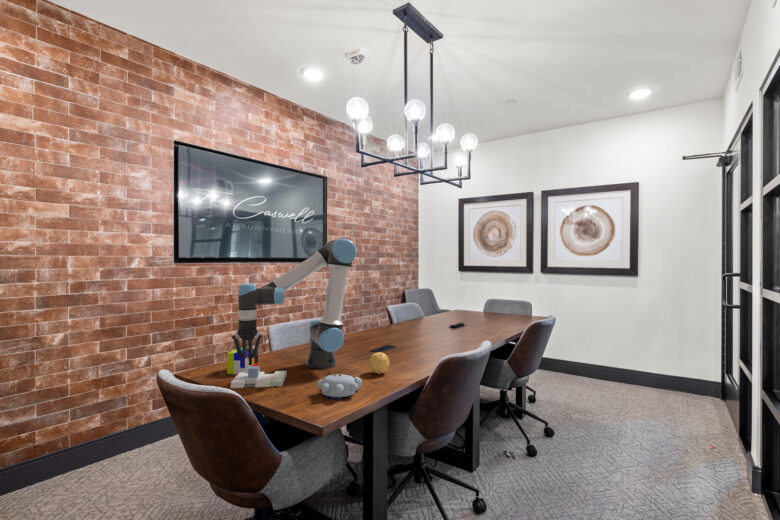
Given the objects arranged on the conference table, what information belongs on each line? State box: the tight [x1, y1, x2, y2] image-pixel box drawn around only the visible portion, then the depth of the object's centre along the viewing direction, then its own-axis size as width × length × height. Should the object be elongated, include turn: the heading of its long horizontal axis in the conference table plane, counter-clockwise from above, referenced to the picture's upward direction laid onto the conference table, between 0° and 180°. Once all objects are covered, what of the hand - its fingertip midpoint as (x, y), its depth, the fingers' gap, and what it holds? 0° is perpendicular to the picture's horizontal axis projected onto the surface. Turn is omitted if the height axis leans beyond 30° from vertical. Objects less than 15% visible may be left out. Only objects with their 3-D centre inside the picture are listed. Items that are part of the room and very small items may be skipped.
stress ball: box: [368, 351, 391, 375], centre depth 184 cm, size 10×10×10 cm
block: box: [248, 365, 261, 378], centre depth 171 cm, size 4×4×4 cm
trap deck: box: [230, 370, 288, 389], centre depth 172 cm, size 21×14×2 cm, turn 97°
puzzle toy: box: [226, 347, 259, 375], centre depth 188 cm, size 10×10×10 cm
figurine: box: [316, 373, 363, 400], centre depth 158 cm, size 17×8×20 cm
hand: (247, 372), depth 171 cm, fingers closed
